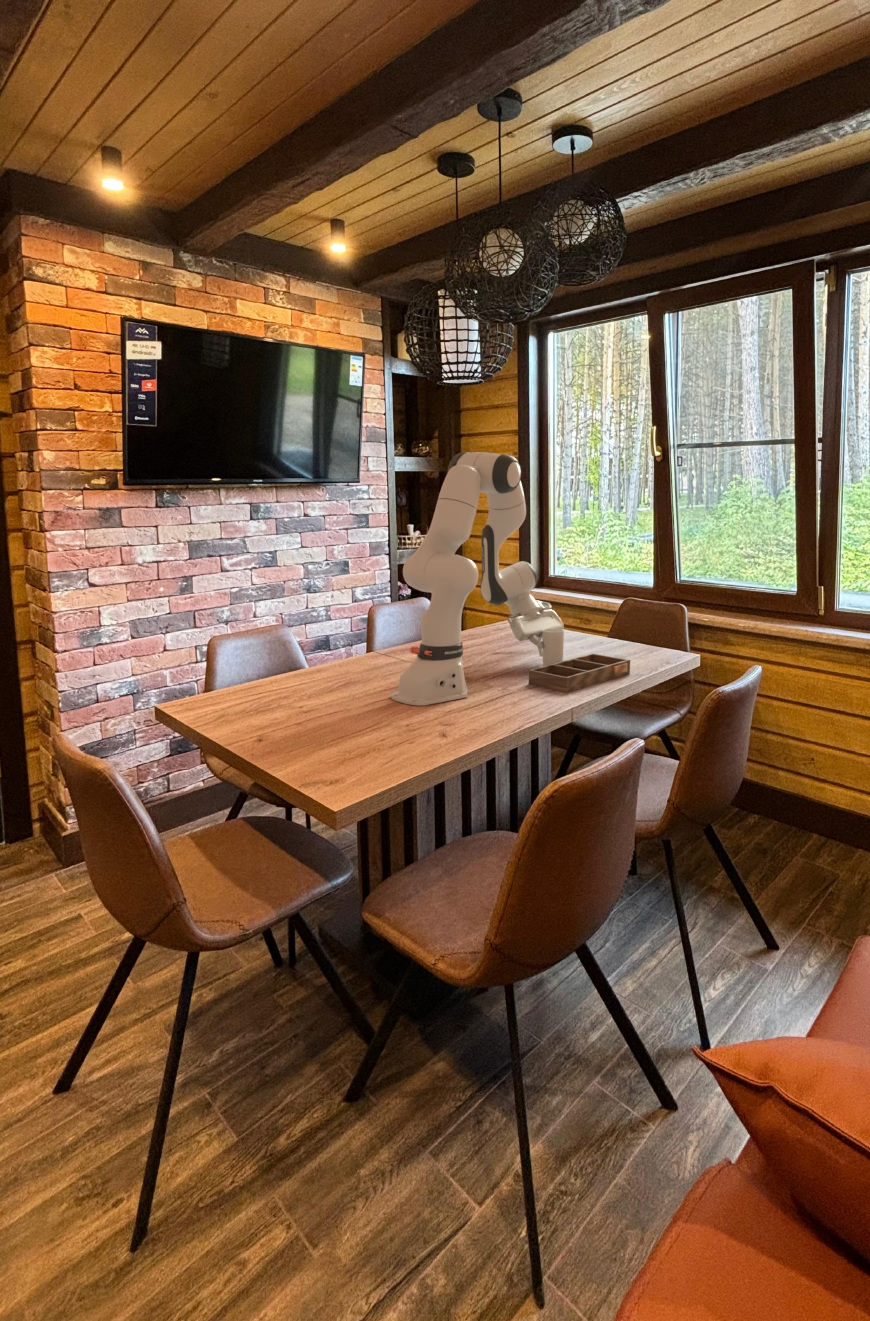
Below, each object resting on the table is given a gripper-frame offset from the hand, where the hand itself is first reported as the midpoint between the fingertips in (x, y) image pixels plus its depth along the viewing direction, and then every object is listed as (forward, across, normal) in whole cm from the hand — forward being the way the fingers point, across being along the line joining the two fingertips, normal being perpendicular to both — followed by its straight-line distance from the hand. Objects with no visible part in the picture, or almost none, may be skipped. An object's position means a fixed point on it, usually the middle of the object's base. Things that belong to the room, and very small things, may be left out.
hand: (550, 645), depth 236 cm
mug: (+4, 0, +6) cm, 7 cm away
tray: (+16, -6, -7) cm, 19 cm away
